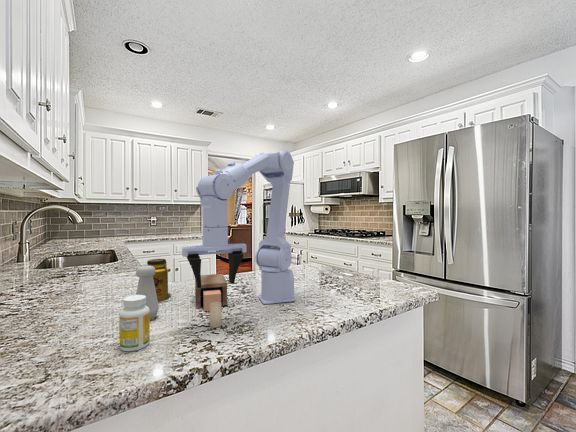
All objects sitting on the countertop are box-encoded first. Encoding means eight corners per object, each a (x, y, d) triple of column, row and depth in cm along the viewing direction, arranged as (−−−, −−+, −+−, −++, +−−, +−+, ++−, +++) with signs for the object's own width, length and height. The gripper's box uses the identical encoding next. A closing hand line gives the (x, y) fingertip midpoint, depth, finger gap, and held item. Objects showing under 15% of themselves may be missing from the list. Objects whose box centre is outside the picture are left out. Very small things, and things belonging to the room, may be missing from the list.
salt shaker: (148, 324, 69) (147, 269, 69) (127, 322, 70) (126, 268, 70) (163, 315, 75) (163, 264, 75) (143, 313, 76) (143, 263, 76)
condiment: (143, 304, 84) (143, 262, 83) (145, 296, 92) (144, 257, 91) (171, 301, 87) (170, 260, 86) (170, 293, 94) (170, 256, 94)
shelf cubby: (222, 293, 94) (222, 273, 94) (227, 305, 83) (227, 282, 83) (195, 296, 92) (195, 275, 91) (195, 308, 80) (195, 285, 80)
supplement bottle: (126, 355, 55) (125, 303, 54) (115, 346, 58) (114, 298, 58) (154, 344, 59) (154, 297, 58) (142, 337, 62) (142, 292, 62)
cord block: (219, 304, 83) (219, 286, 83) (226, 326, 68) (225, 304, 67) (203, 306, 81) (203, 288, 81) (206, 328, 66) (206, 306, 66)
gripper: (240, 225, 75) (240, 277, 75) (179, 226, 69) (180, 284, 69) (249, 226, 69) (249, 284, 69) (184, 228, 62) (184, 292, 63)
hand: (215, 285), depth 69 cm, fingers open, 7 cm apart
